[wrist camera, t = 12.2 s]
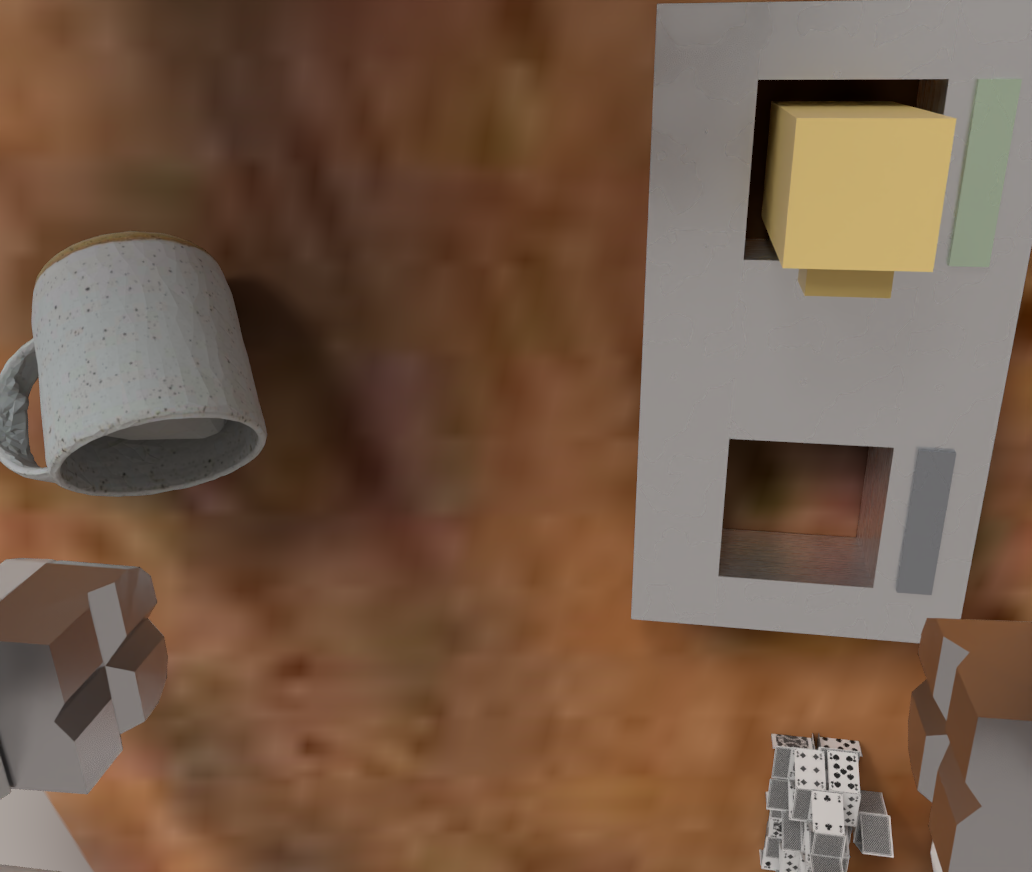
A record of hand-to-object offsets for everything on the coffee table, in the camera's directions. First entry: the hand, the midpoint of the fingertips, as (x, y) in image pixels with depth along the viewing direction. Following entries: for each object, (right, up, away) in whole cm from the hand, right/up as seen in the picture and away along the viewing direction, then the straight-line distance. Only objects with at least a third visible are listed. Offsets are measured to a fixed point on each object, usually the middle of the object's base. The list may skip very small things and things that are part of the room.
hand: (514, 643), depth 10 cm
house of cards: (+16, -15, +35) cm, 41 cm away
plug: (+11, +12, +24) cm, 29 cm away
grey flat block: (+11, +6, +26) cm, 29 cm away
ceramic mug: (-15, +6, +31) cm, 35 cm away
